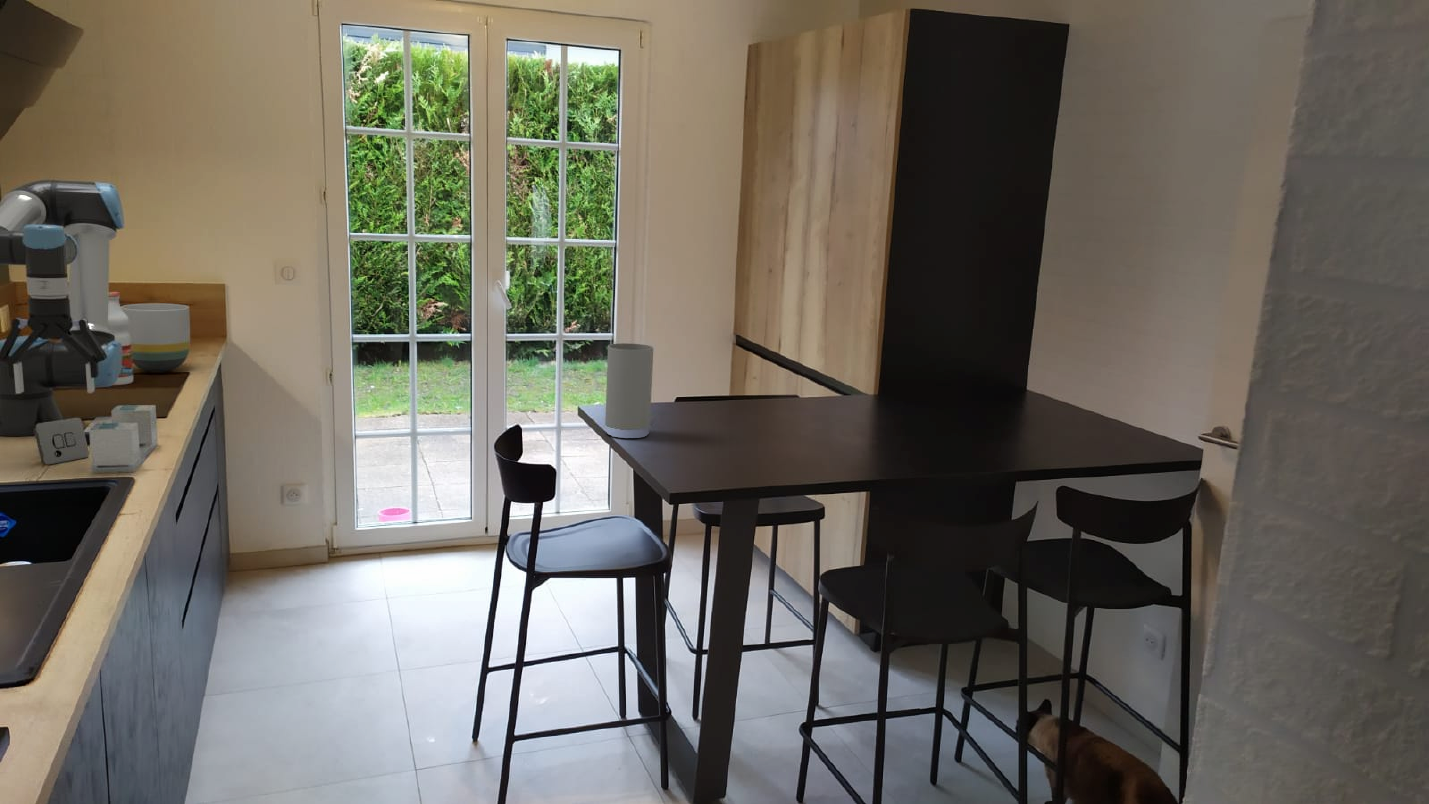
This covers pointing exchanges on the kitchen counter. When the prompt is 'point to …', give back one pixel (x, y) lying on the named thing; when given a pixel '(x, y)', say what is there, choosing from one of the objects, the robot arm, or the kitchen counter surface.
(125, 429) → the grey u-shaped block
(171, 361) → the planter
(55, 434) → the electrical switch
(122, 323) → the fruit juice
